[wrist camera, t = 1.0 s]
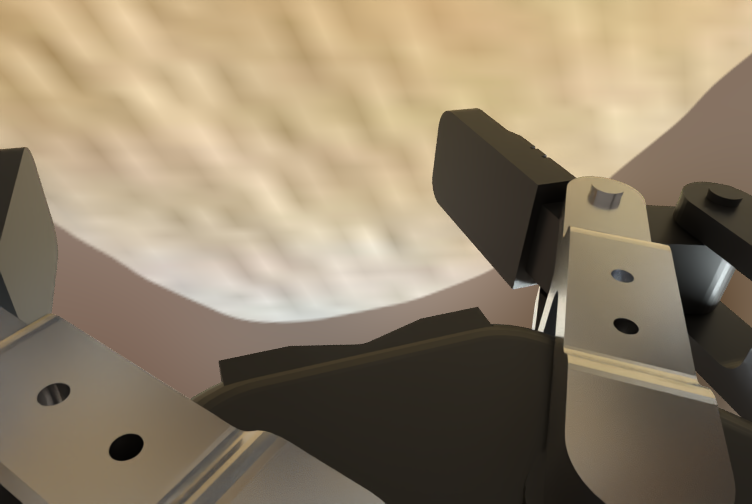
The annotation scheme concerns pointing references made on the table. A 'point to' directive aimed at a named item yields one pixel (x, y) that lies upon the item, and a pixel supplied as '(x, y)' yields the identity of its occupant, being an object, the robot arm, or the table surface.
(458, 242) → the table surface
